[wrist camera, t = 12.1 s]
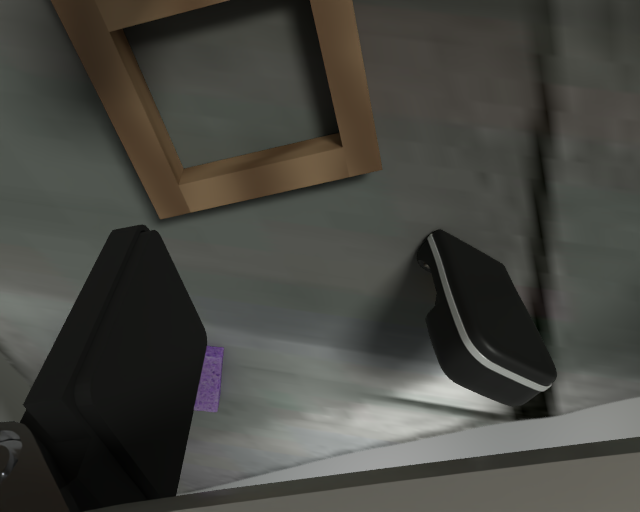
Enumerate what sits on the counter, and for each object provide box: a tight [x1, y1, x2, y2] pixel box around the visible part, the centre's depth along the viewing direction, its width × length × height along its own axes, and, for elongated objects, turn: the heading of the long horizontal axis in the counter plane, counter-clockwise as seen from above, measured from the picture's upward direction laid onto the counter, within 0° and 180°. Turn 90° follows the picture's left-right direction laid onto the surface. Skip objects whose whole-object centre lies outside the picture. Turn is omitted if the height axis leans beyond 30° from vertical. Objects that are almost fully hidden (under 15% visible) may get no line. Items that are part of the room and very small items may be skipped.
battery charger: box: [417, 229, 557, 407], centre depth 35 cm, size 7×4×11 cm, turn 57°
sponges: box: [194, 346, 224, 412], centre depth 45 cm, size 7×13×2 cm, turn 79°
